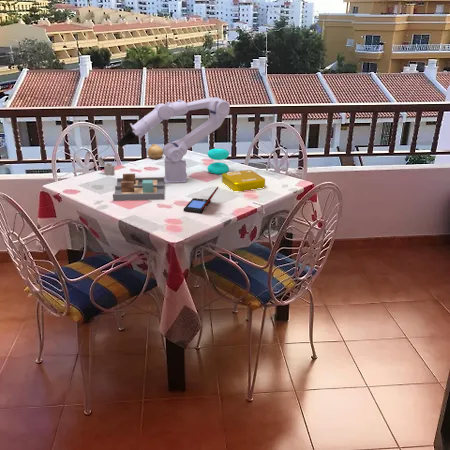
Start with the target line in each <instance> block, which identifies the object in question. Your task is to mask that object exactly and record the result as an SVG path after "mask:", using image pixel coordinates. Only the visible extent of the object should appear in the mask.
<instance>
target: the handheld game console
mask: <svg viewBox="0 0 450 450" xmlns="http://www.w3.org/2000/svg"><path fill="white" fill-rule="evenodd" d="M218 189H219V186H217V187H216V188H215V189H214V191H213V192H212V193H211V194H210V196H209V197H208V198H196V197H195V198H192V199H191V200H190V201H189V202H188V203H187V204H186V205H185V206H184V208H183V212H185V213H193V214H199V215H201V214H203V212H204V211H205V210H206V208H207V207H208V206H209V205H210V204H211V199H212V198H213V197H214V195H215V194H216V193H217V192H218Z"/></svg>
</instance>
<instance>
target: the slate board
mask: <svg viewBox="0 0 450 450" xmlns="http://www.w3.org/2000/svg"><path fill="white" fill-rule="evenodd" d="M135 180H138V185H134V188H143V186H142V182H143V180H153V188H154V187H157V193H132V194H121V193H122V192H121V181H123V177H118V178H116V185H115V186H114V190H115V191H114V193H113V194H112V201H113V202H121V201H122V202H123V201H155V200H157V201H158V200H159V201H160V200H162V201H163V200H165V183H164V176H159V177H158V176H157V177H155V176H154V177H153V176H152V177H135Z"/></svg>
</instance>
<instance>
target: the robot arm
mask: <svg viewBox="0 0 450 450" xmlns="http://www.w3.org/2000/svg"><path fill="white" fill-rule="evenodd" d="M230 108H231V107H230V103H229V102H228V101H227V100H225V99H221V97H218V96H214V97H206V98H202V99H198V100H197V99H196V100H193V101H188V102H186V101H185V100H182V99H177V101H174V102H169V101H168V102H167V101H166V104H165V103H158V104H156V105H155V106H154V109H152V111H150V112H148V113H147V114H146V115H144V117H142V118H140V120H138V121H136V123H134V124H133V123H131V122H130V123H129V125H130V127H131V128H130V127H129V128H128V129H127V131H126V132H125V133H124V135H123V136H122V137H121V138H120V139H119V140H118V142H117V144H118V145H119V147H121V148H122V147H124V146H126V145H128V144H130V143H132V142H135V141H138V138H137V137H139V138H140V139H142V138H143V136H145V135H146V134H147V133H149V132H150V131H151V130H153V129H154V128H155V127H156V126H158V125H159V124H160V123H162V122H163V121H164V120H166V121H168V120H170V119H171V118H172V117H173V118H174V117H178V116H183V115H186V114H187V113H189V111H195V110H196V111H197V110H200V109H201V110H202V109H207V110H209V111H208V112H209V118H208V119H207V120H206V121H205V122H203V123H202V124H200V125H199V126H198V127H195V129H193V130H192V131H190V132H188V133H187V134H186V135H184V136H183V137H182V138H180V139H176V140H174V141H172V142H168V143H166V144H165V145H164V146H163V147H162V150H163V156H165V157H164V176H163V177H164V184H172V183H179V184H180V183H187V177H188V173H187V161H186V160H183V157H184V156H185V155H187V153H188V150H189V149H190V148H192V147H193V146H196V144H197V143H199V142H201V141H202V140H203V139H205V138H206V137H207V136H209V135H210V134H212V133H213V132H215V131H216V130H217V129H219V128H220V127H221V126H222V124H223V123H224V121H225V119H226V117H227V116H228V115H230ZM136 136H137V137H136Z"/></svg>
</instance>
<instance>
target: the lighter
mask: <svg viewBox="0 0 450 450" xmlns="http://www.w3.org/2000/svg"><path fill="white" fill-rule="evenodd" d="M97 161H98V163H99V166H101V167H104V176H115V174H116V173H115V165H113V164H112V163H110V162H107V163H105V161H104V159H103V157H102V156H99V157H97Z"/></svg>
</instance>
